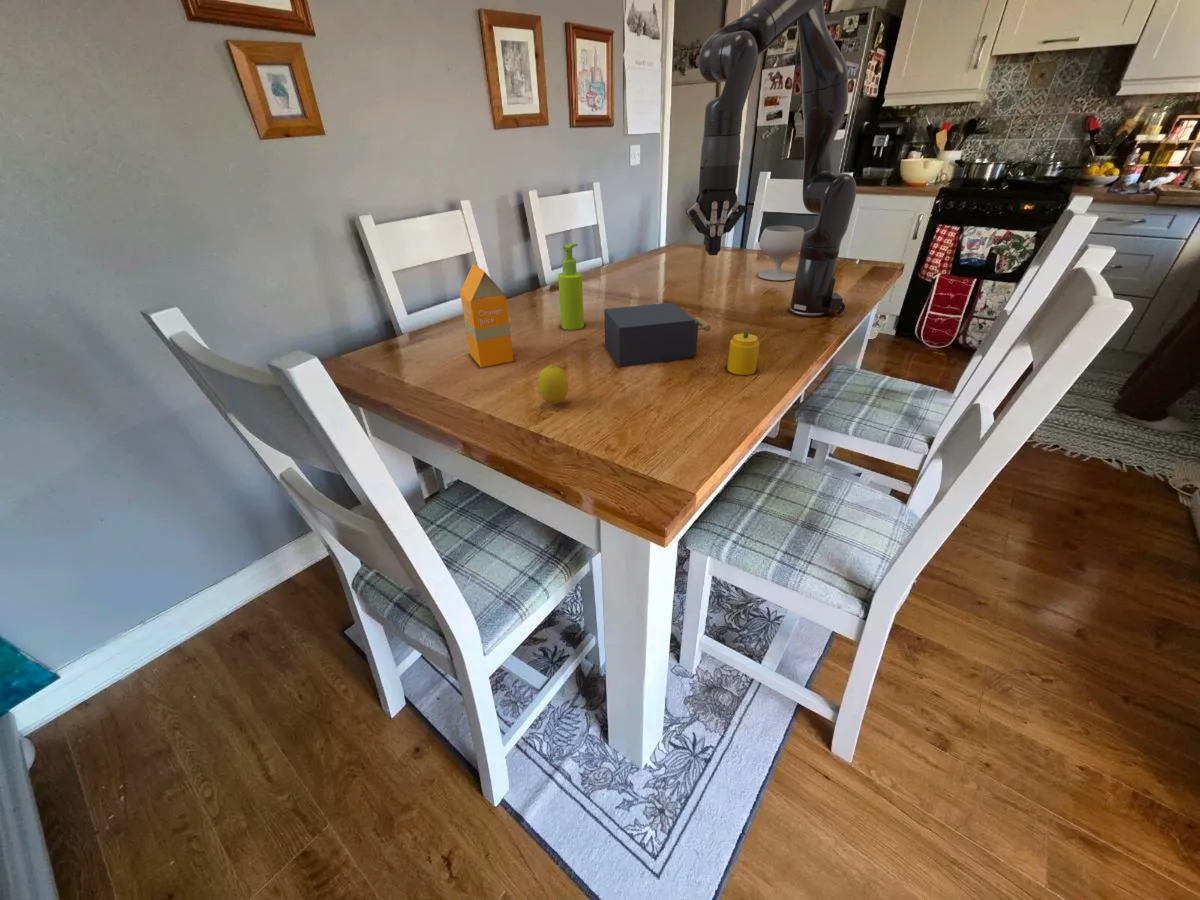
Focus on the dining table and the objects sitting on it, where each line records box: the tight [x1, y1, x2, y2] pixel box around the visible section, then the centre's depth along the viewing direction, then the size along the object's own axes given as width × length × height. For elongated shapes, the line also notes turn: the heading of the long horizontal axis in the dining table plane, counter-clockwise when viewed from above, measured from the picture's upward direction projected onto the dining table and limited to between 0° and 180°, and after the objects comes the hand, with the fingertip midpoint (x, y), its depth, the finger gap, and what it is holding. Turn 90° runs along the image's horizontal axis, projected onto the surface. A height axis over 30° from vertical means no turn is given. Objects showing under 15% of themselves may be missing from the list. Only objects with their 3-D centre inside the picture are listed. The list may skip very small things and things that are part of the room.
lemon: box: [537, 364, 569, 406], centre depth 94 cm, size 6×6×8 cm
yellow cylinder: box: [726, 331, 761, 376], centre depth 105 cm, size 6×6×8 cm
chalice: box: [757, 225, 805, 281], centre depth 167 cm, size 14×14×15 cm
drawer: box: [679, 307, 712, 354], centre depth 116 cm, size 20×12×7 cm, turn 103°
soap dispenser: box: [557, 243, 585, 331], centre depth 129 cm, size 6×7×20 cm
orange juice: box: [459, 263, 514, 368], centre depth 111 cm, size 8×9×20 cm
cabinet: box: [603, 302, 695, 367], centre depth 115 cm, size 17×14×9 cm
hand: (712, 254), depth 110 cm, fingers closed
